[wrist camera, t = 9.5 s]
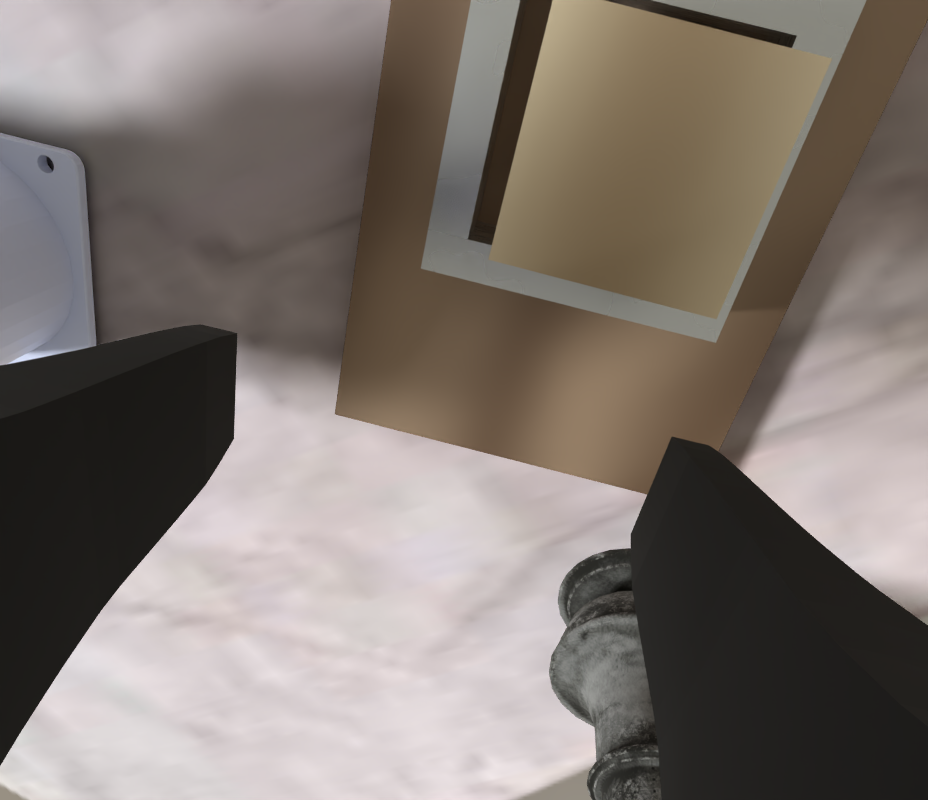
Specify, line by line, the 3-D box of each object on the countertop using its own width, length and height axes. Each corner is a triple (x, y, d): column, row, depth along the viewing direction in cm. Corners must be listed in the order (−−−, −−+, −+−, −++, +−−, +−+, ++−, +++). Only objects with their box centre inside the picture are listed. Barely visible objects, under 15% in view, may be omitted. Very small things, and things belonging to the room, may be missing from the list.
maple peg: (513, 190, 17) (488, 259, 11) (557, 21, 15) (556, -12, 9) (659, 229, 17) (716, 319, 11) (721, 63, 15) (832, 58, 9)
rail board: (348, 393, 22) (334, 414, 21) (472, -462, 13) (462, -523, 12) (683, 479, 22) (692, 505, 21) (1058, -326, 13) (1117, -372, 11)
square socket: (435, 247, 18) (421, 268, 16) (499, -79, 14) (490, -102, 13) (699, 313, 18) (716, 343, 16) (829, 0, 14) (871, -11, 12)
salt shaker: (689, 529, 23) (798, 918, 12) (718, 645, 25) (831, 1056, 15) (532, 558, 25) (511, 926, 14) (572, 664, 27) (581, 1049, 16)
